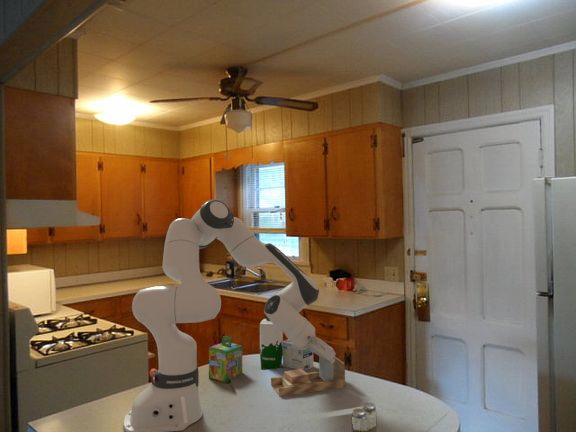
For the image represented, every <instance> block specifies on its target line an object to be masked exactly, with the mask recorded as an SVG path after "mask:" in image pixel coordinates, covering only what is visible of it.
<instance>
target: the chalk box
mask: <svg viewBox="0 0 576 432" xmlns="http://www.w3.org/2000/svg"><path fill="white" fill-rule="evenodd" d="M242 373H243V345H241V344H238V343H234V342H233V337H231V336H226V335H223V336H222V339H221V343H217V344H214V345H212V346H209V347H208V378H209V379H212V380H216V381H219V382H222V383H225V384H228V383H229V382H231V379H232V378H235V377H236V376H238V375H240V374H242Z"/></svg>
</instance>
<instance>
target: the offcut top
mask: <svg viewBox="0 0 576 432" xmlns="http://www.w3.org/2000/svg"><path fill="white" fill-rule="evenodd" d="M308 373H309V372H306V370H305V371H303V370H302V369H291V370H286V371H283V376H284V379H285V380H287V381H288V382H289V383H290V384H297V383H302V382H307V381H309V374H308Z"/></svg>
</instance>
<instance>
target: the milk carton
mask: <svg viewBox="0 0 576 432" xmlns="http://www.w3.org/2000/svg"><path fill="white" fill-rule="evenodd" d="M283 335H284V332H282V331H280V330H279V329H278V328H277V327H276V326H275V325H274V324H273V323H272V322H271V321H270V320H269V318H268V317H267V316H266V318H263V319H262V320H261V321H260V323H259V357H260V359H259V360H260V369H261V370H276V369H280V368H281V366H282V365H283V347H282V341H284V340H283V339H284V338H283V337H284V336H283Z"/></svg>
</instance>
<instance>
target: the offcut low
mask: <svg viewBox="0 0 576 432" xmlns="http://www.w3.org/2000/svg"><path fill="white" fill-rule="evenodd" d="M310 383H311V382H310V381H307V382H302V383H297V384H290V383H289V382H288V381H287V380H285V379H284V378H282V385H283V387H288V386H295V385H302V384H310Z"/></svg>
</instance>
